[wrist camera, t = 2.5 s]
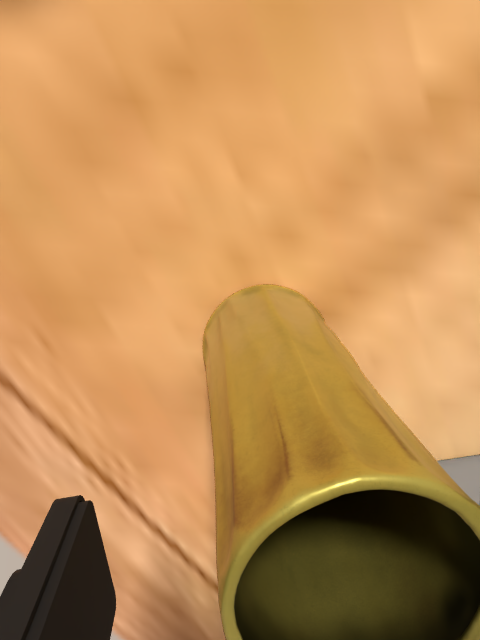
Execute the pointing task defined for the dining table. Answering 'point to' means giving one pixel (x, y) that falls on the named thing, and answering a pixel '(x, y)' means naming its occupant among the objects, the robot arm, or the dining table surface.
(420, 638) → the vase
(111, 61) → the dining table surface
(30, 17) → the dining table surface
